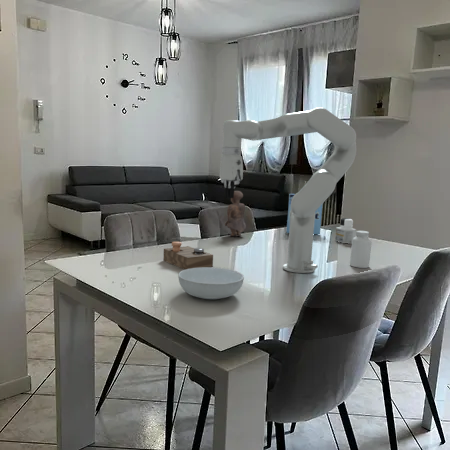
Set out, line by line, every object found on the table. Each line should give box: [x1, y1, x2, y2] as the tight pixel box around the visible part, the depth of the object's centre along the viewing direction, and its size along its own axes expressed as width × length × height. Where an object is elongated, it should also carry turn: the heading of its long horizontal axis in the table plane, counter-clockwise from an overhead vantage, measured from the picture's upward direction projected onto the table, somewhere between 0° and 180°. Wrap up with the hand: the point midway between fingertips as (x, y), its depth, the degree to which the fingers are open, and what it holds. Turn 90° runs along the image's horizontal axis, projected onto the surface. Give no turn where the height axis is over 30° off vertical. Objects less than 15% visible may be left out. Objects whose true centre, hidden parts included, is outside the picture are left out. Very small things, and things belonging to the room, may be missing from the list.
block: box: [162, 245, 214, 270], centre depth 187 cm, size 18×12×5 cm, turn 37°
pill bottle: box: [349, 230, 373, 269], centre depth 197 cm, size 8×8×15 cm
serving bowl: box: [177, 267, 245, 300], centre depth 147 cm, size 21×21×7 cm
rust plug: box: [171, 241, 183, 252], centre depth 188 cm, size 4×4×5 cm
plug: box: [193, 247, 205, 255], centre depth 185 cm, size 4×4×5 cm
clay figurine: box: [224, 190, 247, 237], centre depth 252 cm, size 13×10×25 cm
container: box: [334, 217, 357, 244], centre depth 252 cm, size 8×8×13 cm
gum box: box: [286, 193, 324, 235], centre depth 272 cm, size 20×5×23 cm, turn 85°
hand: (229, 197), depth 188 cm, fingers closed
